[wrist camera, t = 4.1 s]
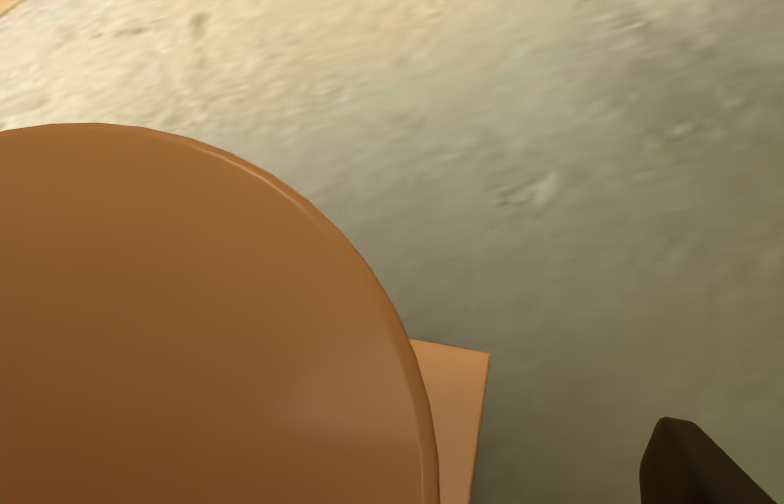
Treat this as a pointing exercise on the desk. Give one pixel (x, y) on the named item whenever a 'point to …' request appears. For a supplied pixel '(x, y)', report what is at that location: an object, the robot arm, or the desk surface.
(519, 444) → the desk surface
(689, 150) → the desk surface
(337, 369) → the brush
